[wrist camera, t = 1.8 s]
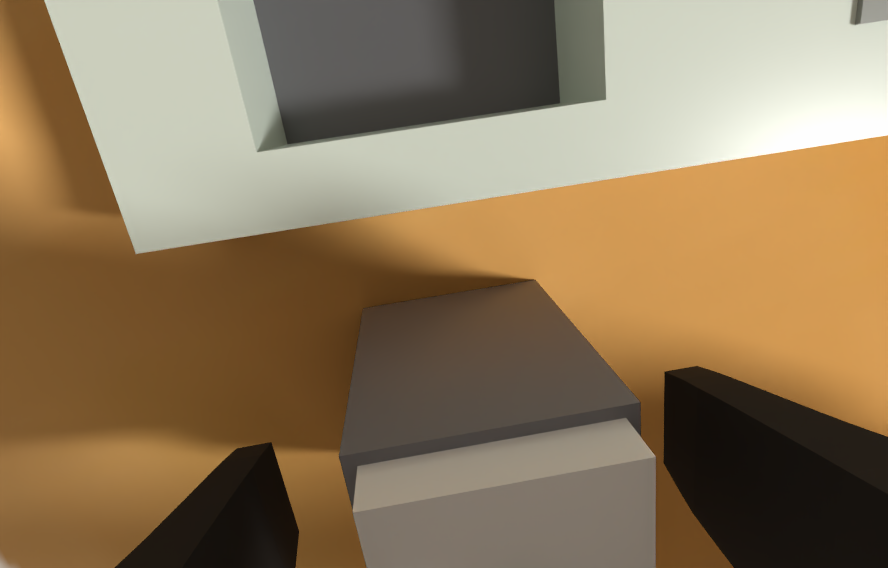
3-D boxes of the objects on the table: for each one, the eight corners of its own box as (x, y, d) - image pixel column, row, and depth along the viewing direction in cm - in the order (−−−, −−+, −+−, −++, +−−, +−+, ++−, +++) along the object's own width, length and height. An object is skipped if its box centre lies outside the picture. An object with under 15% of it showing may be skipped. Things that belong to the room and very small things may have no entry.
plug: (547, 424, 13) (673, 680, 7) (393, 452, 13) (393, 737, 7) (534, 279, 11) (678, 446, 6) (363, 308, 11) (330, 510, 5)
